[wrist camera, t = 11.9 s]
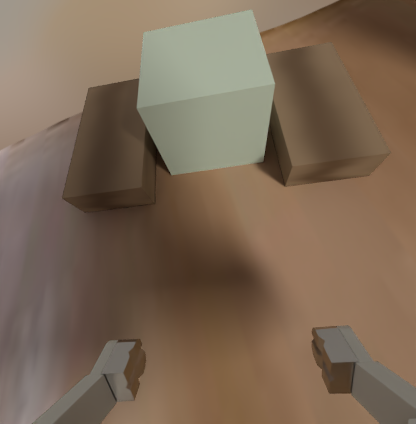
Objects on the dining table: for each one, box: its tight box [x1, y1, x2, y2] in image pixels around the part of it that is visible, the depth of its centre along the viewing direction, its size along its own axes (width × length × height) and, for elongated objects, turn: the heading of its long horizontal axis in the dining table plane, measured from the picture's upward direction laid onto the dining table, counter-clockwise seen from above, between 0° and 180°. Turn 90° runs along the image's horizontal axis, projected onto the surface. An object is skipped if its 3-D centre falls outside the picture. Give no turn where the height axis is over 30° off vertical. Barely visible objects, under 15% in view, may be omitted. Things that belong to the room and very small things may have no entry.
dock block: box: [62, 42, 391, 213], centre depth 21 cm, size 26×14×3 cm, turn 94°
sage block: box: [137, 10, 275, 175], centre depth 19 cm, size 9×9×8 cm
